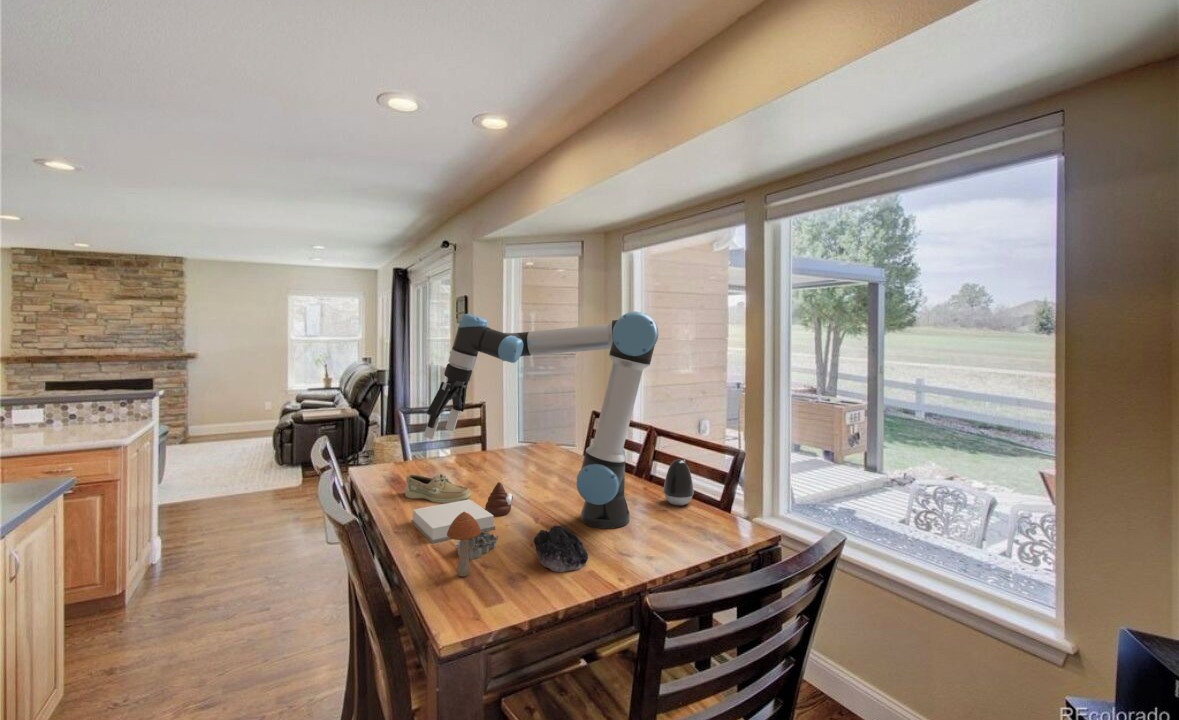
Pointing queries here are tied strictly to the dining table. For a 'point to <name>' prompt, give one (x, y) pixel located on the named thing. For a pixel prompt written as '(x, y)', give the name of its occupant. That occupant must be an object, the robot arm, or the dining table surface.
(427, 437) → the robot arm
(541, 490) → the dining table surface
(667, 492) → the black egg shaped device
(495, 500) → the poop emoji
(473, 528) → the mushroom
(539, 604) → the dining table surface
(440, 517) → the podium
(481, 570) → the dining table surface
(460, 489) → the boat shoe
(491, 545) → the stone castle ruin
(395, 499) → the dining table surface
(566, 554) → the crystal cluster
